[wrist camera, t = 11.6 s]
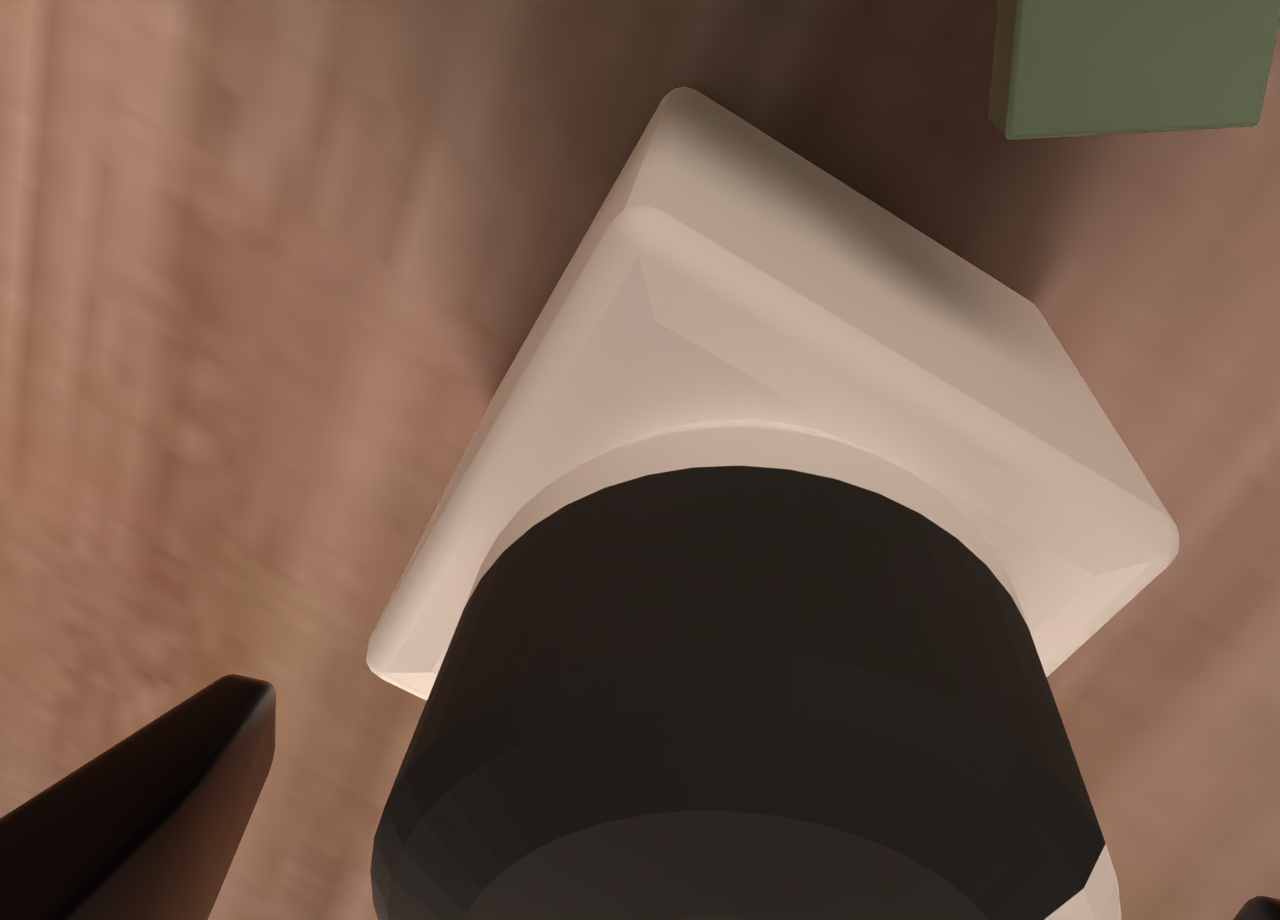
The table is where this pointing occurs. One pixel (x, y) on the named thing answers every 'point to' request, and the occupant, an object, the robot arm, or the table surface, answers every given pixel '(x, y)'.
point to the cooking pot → (1129, 65)
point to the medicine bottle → (762, 577)
